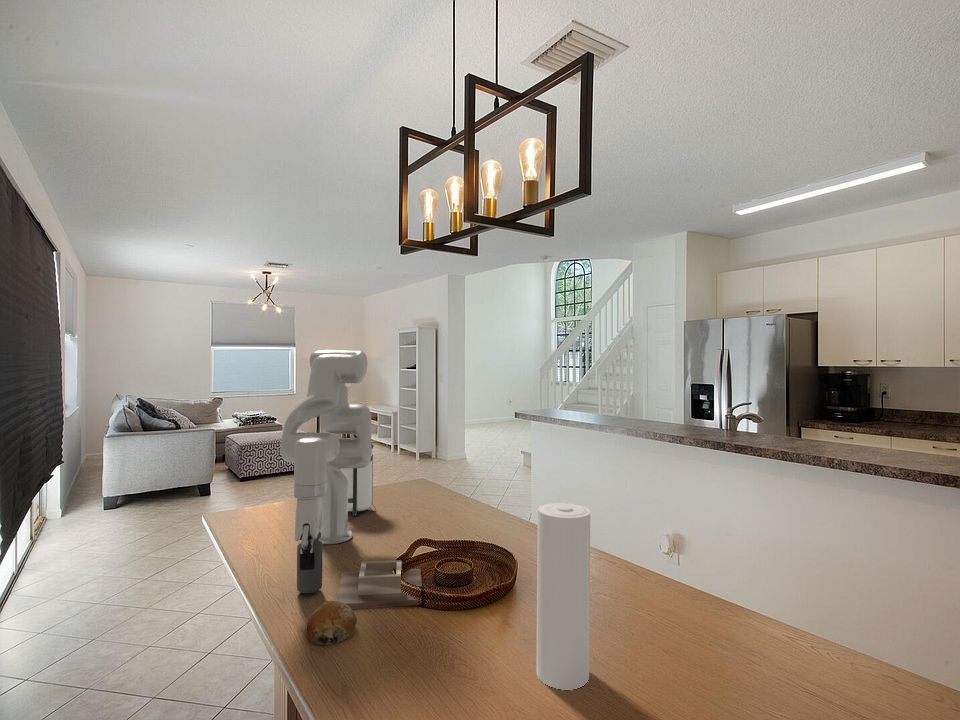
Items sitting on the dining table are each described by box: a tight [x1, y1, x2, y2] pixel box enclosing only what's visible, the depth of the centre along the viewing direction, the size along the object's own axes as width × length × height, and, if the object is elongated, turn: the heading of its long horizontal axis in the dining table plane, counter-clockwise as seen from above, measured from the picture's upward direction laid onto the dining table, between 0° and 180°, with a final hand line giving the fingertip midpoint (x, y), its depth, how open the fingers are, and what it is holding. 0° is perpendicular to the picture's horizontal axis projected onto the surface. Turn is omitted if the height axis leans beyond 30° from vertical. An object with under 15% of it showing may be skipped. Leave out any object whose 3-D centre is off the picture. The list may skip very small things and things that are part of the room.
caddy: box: [334, 559, 423, 610], centre depth 126 cm, size 18×20×5 cm
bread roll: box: [305, 600, 358, 646], centre depth 106 cm, size 10×10×8 cm
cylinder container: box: [535, 502, 591, 691], centre depth 92 cm, size 9×9×30 cm
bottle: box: [296, 527, 324, 594], centre depth 124 cm, size 6×6×15 cm
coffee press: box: [340, 434, 376, 518], centre depth 191 cm, size 17×16×30 cm
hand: (309, 562), depth 124 cm, fingers closed on bottle, 5 cm apart
